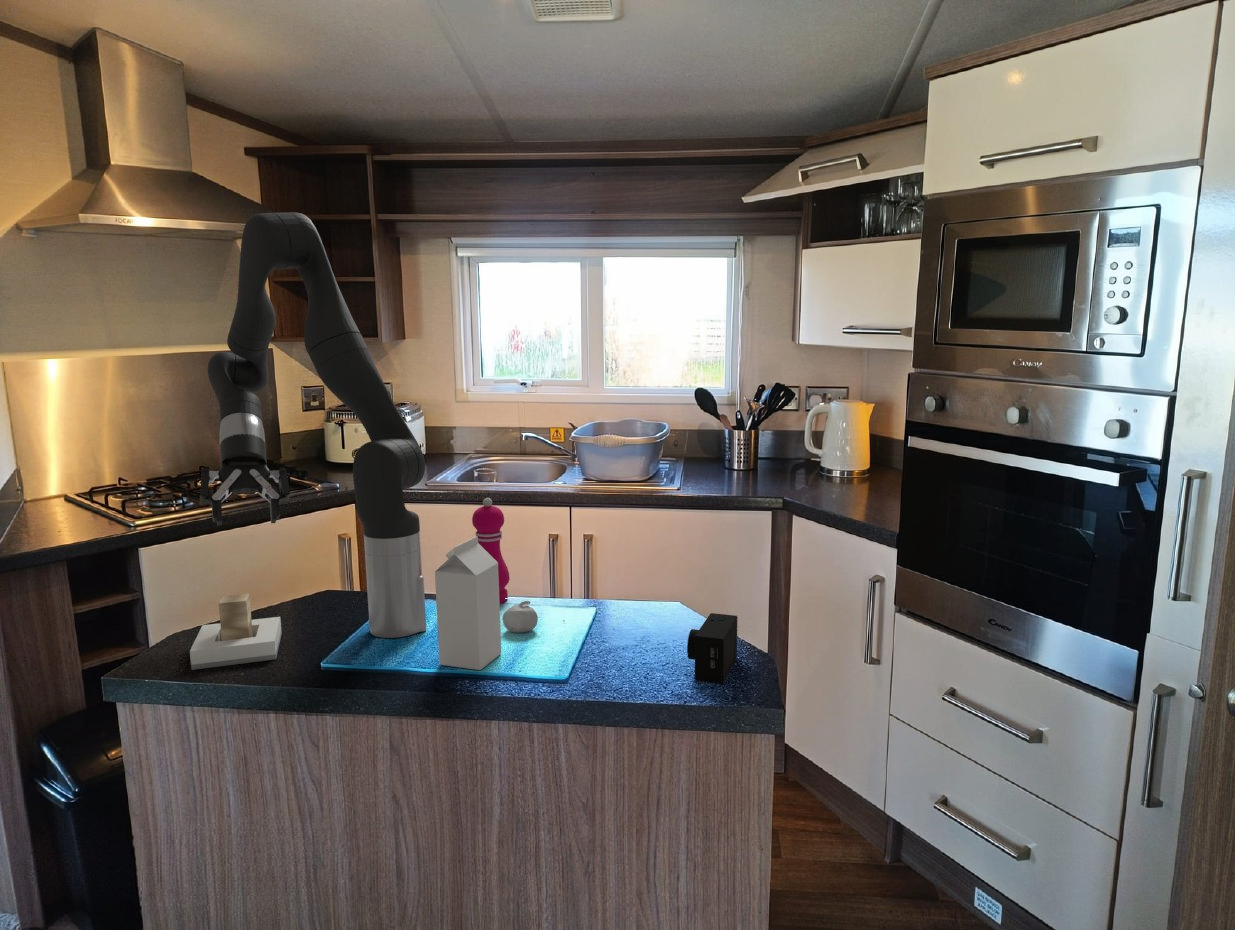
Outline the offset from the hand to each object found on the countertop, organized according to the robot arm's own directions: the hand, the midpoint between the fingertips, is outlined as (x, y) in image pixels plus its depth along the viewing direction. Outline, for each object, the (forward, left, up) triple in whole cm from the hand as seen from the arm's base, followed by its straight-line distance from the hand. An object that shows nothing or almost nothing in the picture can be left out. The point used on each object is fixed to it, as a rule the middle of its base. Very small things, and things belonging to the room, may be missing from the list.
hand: (247, 522), depth 139 cm
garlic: (-44, +18, -19) cm, 51 cm away
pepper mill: (-42, 0, -19) cm, 46 cm away
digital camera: (-68, +44, -19) cm, 83 cm away
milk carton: (-34, +28, -19) cm, 48 cm away
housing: (+1, +11, -19) cm, 22 cm away
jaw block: (+1, +11, -18) cm, 21 cm away
